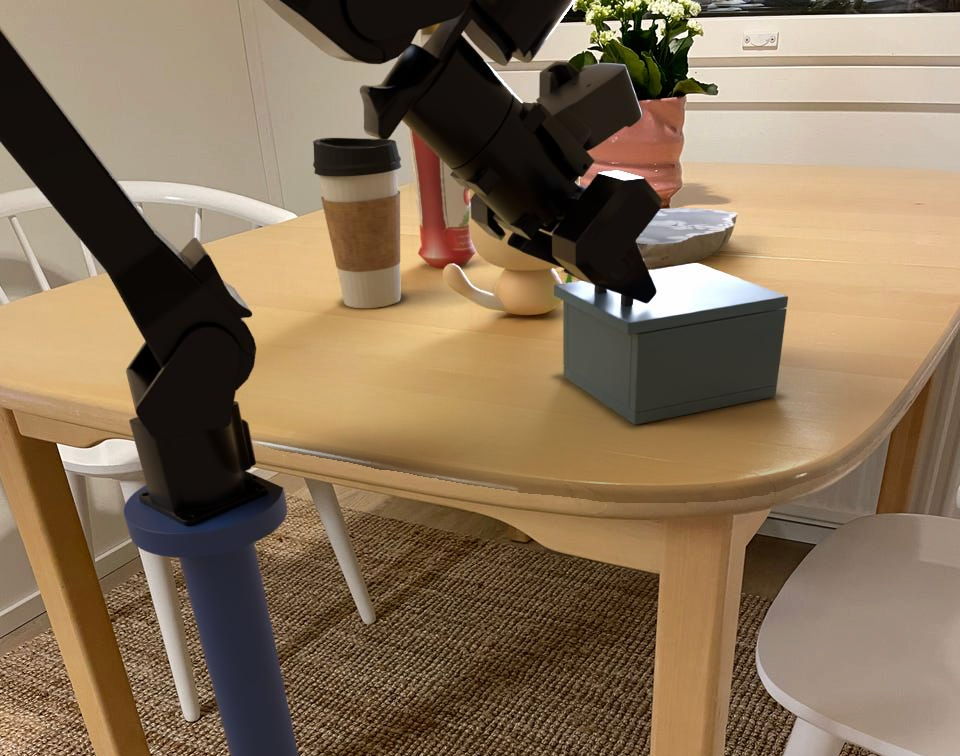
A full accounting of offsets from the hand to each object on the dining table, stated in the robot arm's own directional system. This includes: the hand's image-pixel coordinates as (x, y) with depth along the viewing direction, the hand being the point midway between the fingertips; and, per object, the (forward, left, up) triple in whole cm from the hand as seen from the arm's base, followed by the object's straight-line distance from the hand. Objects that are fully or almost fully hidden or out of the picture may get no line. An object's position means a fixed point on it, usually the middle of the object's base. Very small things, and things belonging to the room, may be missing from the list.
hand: (630, 288), depth 68 cm
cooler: (+3, -1, -8) cm, 8 cm away
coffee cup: (+7, +38, -8) cm, 39 cm away
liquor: (+23, +43, -8) cm, 49 cm away
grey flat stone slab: (+40, +26, -8) cm, 48 cm away
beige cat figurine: (+13, +21, -8) cm, 26 cm away
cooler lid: (+3, -1, -1) cm, 3 cm away
